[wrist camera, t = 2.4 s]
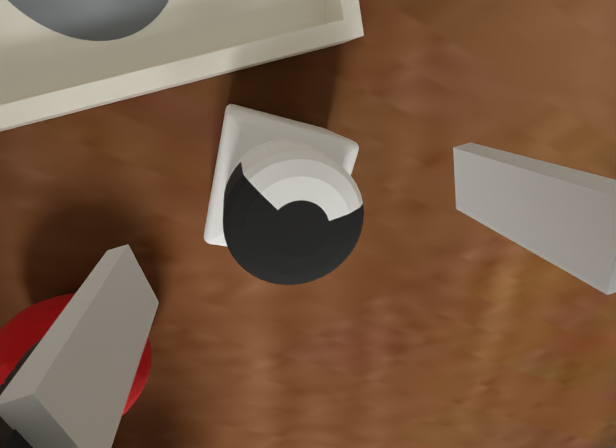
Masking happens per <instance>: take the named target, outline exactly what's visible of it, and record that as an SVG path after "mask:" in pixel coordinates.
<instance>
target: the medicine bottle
mask: <svg viewBox="0 0 616 448" xmlns="http://www.w3.org/2000/svg"><path fill="white" fill-rule="evenodd" d="M358 150H359V146H358V144H357V143H356V142H354V141H352V140H350V139H347V138H345V137H343V136H341V135H338V134H336V133H334V132H332V131H329V130H327V129H325V128H322V127H318V126H314V125H310V124H307V123H303V122H299V121H295V120H291V119H288V118H284V117H280V116H276V115H273V114H269V113H265V112H261V111H257V110H254V109H250V108H246V107H242V106H239V105H235V104H229V105H227V107H226V110H225V115H224V121H223V127H222V133H221V138H220V144H219V150H218V155H217V161H216V167H215V172H214V178H213V184H212V189H211V195H210V201H209V207H208V213H207V219H206V226H205V232H204V240H205V241H206V242H207V243H209V244H215V245H222V246H228V249H229V250H230V252H231V254H232V256H233V257H234V259H235V260H236V261H237V262H238V264H239V265H240V266H241V267H243V268H244V269H245V270H246V271H247V272H249V273H250V274H252V275H253V276H255V277H257V278H259V279H261V280H264V281H267V282H270V283H275V284H283V285H295V284H302V283H307V282H310V281H314V280H316V279H318V278H321V277H323V276H325V275H326V274H328V273H330V272H331V271H333V270H334V269H335V268H337V267H338V266H339V265H340V264H341V263H342V262H343V261H344V260H345V259H346V258H347V257H348V256H349V254H350V253H351V252H352V250H353V248H354V247H355V245H356V243H357V241H358V239H359V236H360V233H361V230H362V225H363V217H364V210H363V202H362V197H361V194H360V191H359V189H358V186H357V185H356V183H355V181H354V180H353V178H352V177H351V173H352V170H353V167H354V163H355V160H356V157H357V154H358Z"/></svg>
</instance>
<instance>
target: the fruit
mask: <svg viewBox="0 0 616 448" xmlns="http://www.w3.org/2000/svg"><path fill="white" fill-rule="evenodd" d="M75 294H76V293H71V294H65V295H60V296H57V297H53V298H50V299H47V300H44V301H40V302H38V303H36V304H34V305H32V306H30V307H28V308H26V309H25V310H23V311H21V312H20V313H18V314H17V315H16V316H15V317H13V318H12V319H11V320H10V321H9V322H8V323H6V324H5V325H4V326H3V327H2V328H1V329H0V385H1V384H3V383H5V381H4V380H5V379H6V377H7V376H8V375H9V373H10V372H11V371H12V370H15V368H14V367H15V366H16V364H17V363H18V362H19V360H20V359H21V358H22V356H23V355H24V354H25V352H26V351H27V350H29V349H30V348H31V347H32V346H33V345H34V344H35V343H37V342H38V341H39V340H40V339H41V338H42V337H43V336H45V334H46V333H47V332H48V330H49V329H50V327H51V326H52V325H53V323H54V322H55V321H56V319H57V318H58V317H59V315H60V314H61V313H62V311H63V310H64V308H65V307H66V306H67V304H68V303H69V302H70V300H71V299H72V298H73V296H74V295H75ZM150 368H151V346H150V342H149V338H147V341H146V344H145V347H144V350H143V353H142V356H141V359H140V362H139V365H138V368H137V371H136V374H135V377H134V380H133V383H132V386H131V389H130V392H129V395H128V398H127V401H126V404H125V407H124V411H123V414H122V416H123V415H124V414H125V413H126V412H127V411H128V410H129V408H130V407H131V406H132V405H133V403H134V402H135V401H136V400H137V398H138V397H139V396H140V394H141V392H142V390H143V388H144V387H145V384H146V382H147V379H148V376H149V373H150Z"/></svg>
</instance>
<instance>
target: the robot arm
mask: <svg viewBox="0 0 616 448" xmlns="http://www.w3.org/2000/svg"><path fill="white" fill-rule="evenodd" d="M453 154H454V174H455V193H456V209H457V210H459V211H461V212H463V213H464V214H466V215H468V216H470V217H471V218H473V219H475V220H477V221H478V222H480V223H482V224H484V225H485V226H487V227H489V228H491V229H493V230H494V231H496V232H498V233H500V234H501V235H503V236H505V237H507V238H508V239H510V240H512V241H514V242H515V243H517V244H519V245H521V246H522V247H524V248H526V249H528V250H529V251H531V252H533V253H535V254H536V255H538V256H540V257H542V258H543V259H545V260H547V261H549V262H551V263H552V264H554V265H556V266H558V267H559V268H561V269H563V270H565V271H566V272H568V273H570V274H572V275H573V276H575V277H577V278H579V279H580V280H582V281H584V282H586V283H587V284H589V285H591V286H593V287H594V288H596V289H598V290H600V291H601V292H603V293H605V294H607V295H609V294H612V293H615V292H616V180H614V179H610V178H606V177H602V176H599V175H595V174H591V173H587V172H583V171H579V170H575V169H571V168H567V167H564V166H560V165H556V164H552V163H548V162H544V161H540V160H536V159H532V158H529V157H525V156H521V155H517V154H513V153H509V152H505V151H501V150H497V149H494V148H490V147H486V146H482V145H478V144H474V143H467V144H464V145H460V146H457V147H454V148H453ZM158 304H159V301H158V300H157V298H156V296H155V294H154V292H153V290H152V288H151V286H150V284H149V283H148V281H147V279H146V277H145V275H144V273H143V271H142V269H141V267H140V266H139V264H138V262H137V260H136V258H135V256H134V254H133V252H132V250H131V249H130V247H129V245H128V244H127V245H124V246H120V247H117V248H114V249H110V250H107V251H106V253H105V254H104V256H103V257H102V258H101V260H100V261H99V262H98V264H97V265H96V266H95V268H94V269H93V270H92V272H91V273H90V275H89V276H88V277H87V279H86V280H85V281H84V283H83V284H82V285H81V287H80V288H79V289H78V291H77V292H76V294H75V295H74V296H73V298H72V299H71V300H70V302H69V303H68V304H67V306H66V307H65V308H64V310H63V311H62V313H61V314H60V315H59V317H58V318H57V319H56V321H55V322H54V323H53V325H52V326H51V327H50V329H49V330H48V332H47V333H46V334H45V336H43V337H42V338H41V339H40V340H39V341H38V342H37V343H35V344H34V345H33V346H32V347H31V348H30V349H29V350H27V351H26V352H25V354H24V355H23V356H22V358H21V359H20V360H19V362H18V363H17V364H16V366H15V367H14V368H15V370H12V371H11V372H10V373H9V375H8V376H7V377H6V379H5V380H4V381H5V383H3V384H1V385H0V448H111V447H112V444H113V441H114V438H115V435H116V432H117V429H118V426H119V423H120V420H121V417H122V414H123V411H124V407H125V404H126V401H127V398H128V395H129V392H130V389H131V386H132V383H133V380H134V377H135V374H136V371H137V368H138V365H139V362H140V359H141V356H142V353H143V350H144V347H145V344H146V341H147V338H148V335H149V332H150V329H151V326H152V322H153V319H154V316H155V313H156V310H157V307H158Z"/></svg>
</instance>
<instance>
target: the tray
mask: <svg viewBox="0 0 616 448" xmlns="http://www.w3.org/2000/svg"><path fill="white" fill-rule="evenodd" d="M361 36H364V33H363V26H362V20H361V13H360V6H359V0H0V132H1V131H5V130H9V129H13V128H16V127H20V126H24V125H28V124H32V123H36V122H40V121H44V120H47V119H51V118H55V117H59V116H63V115H67V114H71V113H75V112H78V111H82V110H86V109H90V108H94V107H98V106H102V105H106V104H110V103H113V102H117V101H121V100H125V99H129V98H133V97H137V96H141V95H144V94H148V93H152V92H156V91H160V90H164V89H168V88H172V87H176V86H179V85H183V84H187V83H191V82H195V81H199V80H203V79H207V78H210V77H214V76H218V75H222V74H226V73H230V72H234V71H238V70H241V69H245V68H249V67H253V66H257V65H261V64H265V63H269V62H273V61H276V60H280V59H284V58H288V57H292V56H296V55H300V54H304V53H307V52H311V51H315V50H319V49H323V48H327V47H331V46H335V45H338V44H342V43H345V42H348V41H350V40H353V39H356V38H358V37H361Z"/></svg>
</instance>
